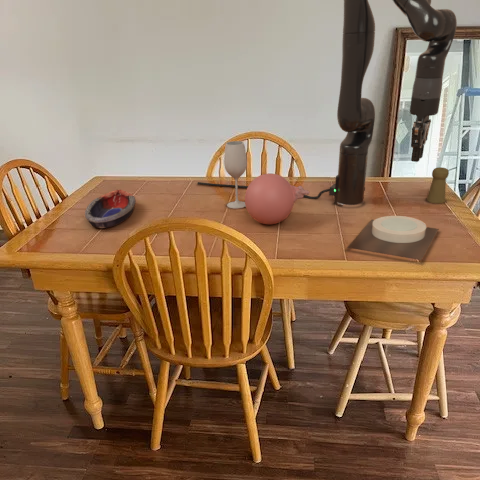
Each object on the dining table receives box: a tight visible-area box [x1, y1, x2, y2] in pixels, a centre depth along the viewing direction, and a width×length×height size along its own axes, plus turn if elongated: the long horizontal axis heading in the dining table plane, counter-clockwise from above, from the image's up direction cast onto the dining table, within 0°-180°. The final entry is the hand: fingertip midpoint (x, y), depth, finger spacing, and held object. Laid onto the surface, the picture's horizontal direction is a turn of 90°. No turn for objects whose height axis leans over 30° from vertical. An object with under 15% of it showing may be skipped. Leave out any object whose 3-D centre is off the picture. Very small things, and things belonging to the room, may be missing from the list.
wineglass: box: [223, 140, 248, 210], centre depth 169 cm, size 8×8×21 cm
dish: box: [84, 189, 136, 229], centre depth 168 cm, size 16×31×5 cm, turn 177°
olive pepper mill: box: [426, 167, 450, 204], centre depth 168 cm, size 6×6×11 cm
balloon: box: [244, 173, 311, 225], centre depth 154 cm, size 15×20×15 cm
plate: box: [372, 215, 427, 243], centre depth 144 cm, size 15×15×3 cm
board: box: [347, 219, 439, 261], centre depth 142 cm, size 20×24×1 cm
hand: (416, 159), depth 145 cm, fingers open, 3 cm apart
